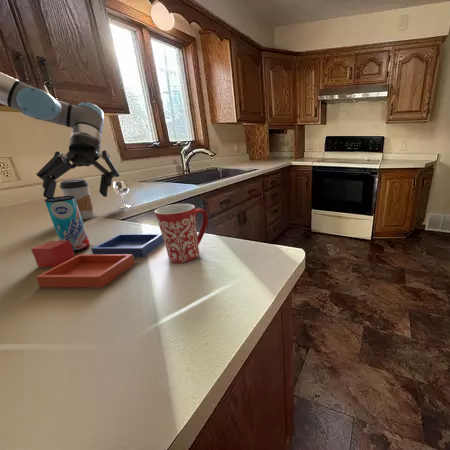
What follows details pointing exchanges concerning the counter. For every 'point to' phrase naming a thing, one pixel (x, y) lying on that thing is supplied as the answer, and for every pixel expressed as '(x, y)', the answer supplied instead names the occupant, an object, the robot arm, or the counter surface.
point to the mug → (181, 231)
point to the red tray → (86, 270)
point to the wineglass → (121, 190)
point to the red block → (53, 253)
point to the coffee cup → (79, 196)
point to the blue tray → (129, 244)
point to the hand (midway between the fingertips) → (76, 196)
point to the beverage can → (68, 221)
